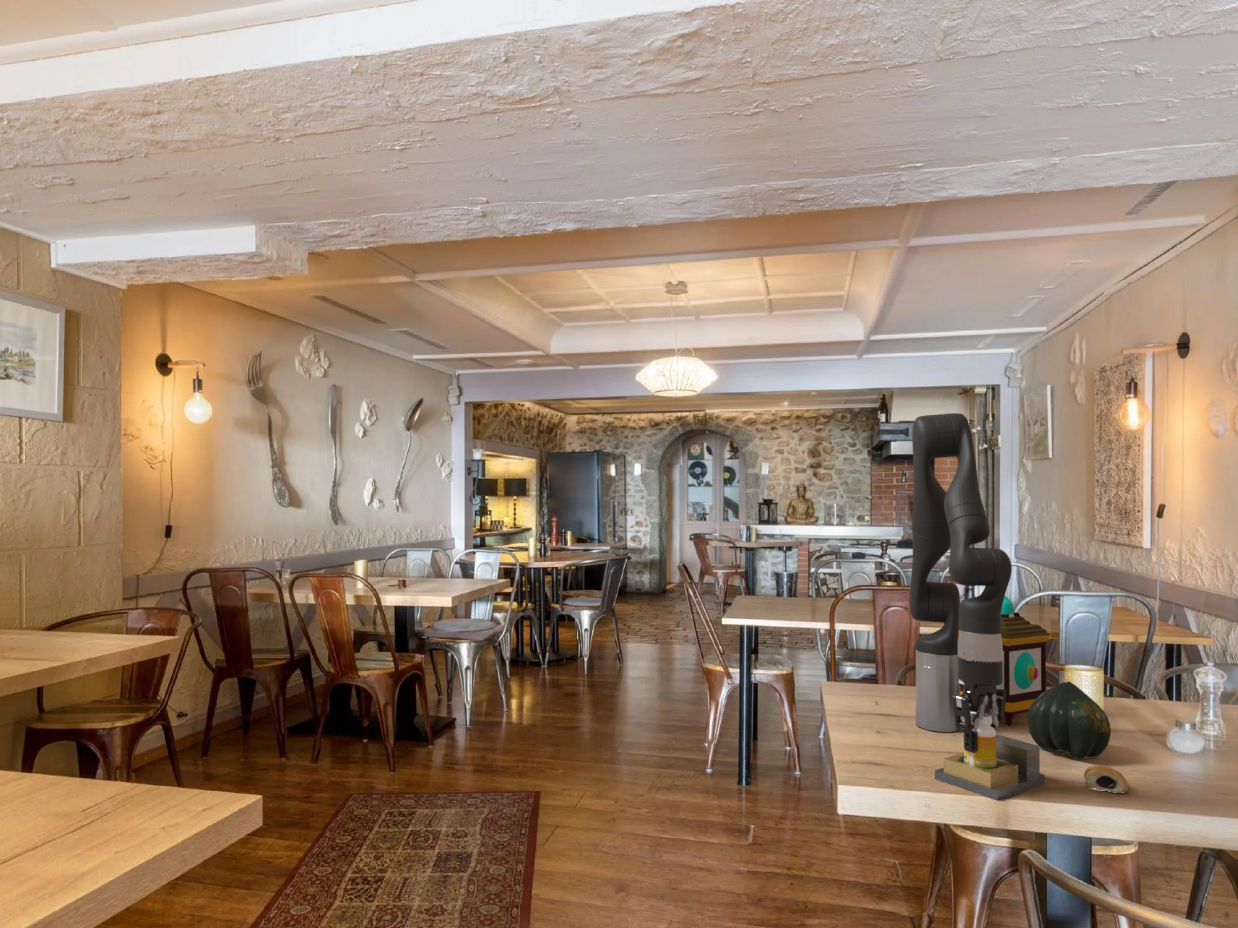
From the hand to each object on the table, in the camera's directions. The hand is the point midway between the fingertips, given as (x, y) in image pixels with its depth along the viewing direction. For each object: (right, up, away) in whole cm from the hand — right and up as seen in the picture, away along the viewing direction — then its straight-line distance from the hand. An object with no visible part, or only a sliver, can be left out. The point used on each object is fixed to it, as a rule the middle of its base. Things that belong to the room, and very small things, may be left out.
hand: (980, 748), depth 138 cm
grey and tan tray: (+2, -6, +1) cm, 7 cm away
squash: (+28, -8, +19) cm, 35 cm away
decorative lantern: (+28, -10, +48) cm, 56 cm away
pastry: (+23, -7, 0) cm, 24 cm away
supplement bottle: (0, -4, 0) cm, 4 cm away
